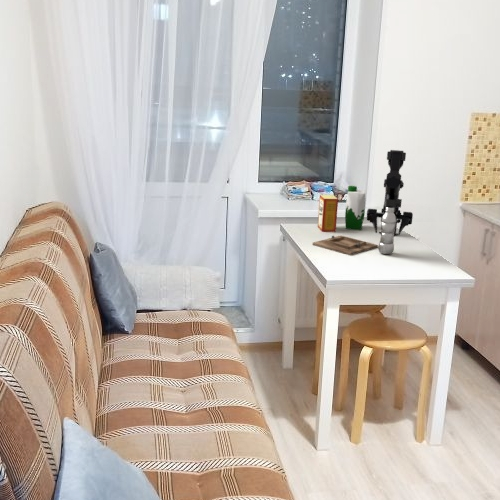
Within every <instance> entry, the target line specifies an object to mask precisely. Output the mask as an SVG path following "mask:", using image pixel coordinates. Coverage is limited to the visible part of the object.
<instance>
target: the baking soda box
mask: <svg viewBox="0 0 500 500" xmlns="http://www.w3.org/2000/svg"><path fill="white" fill-rule="evenodd" d="M318 202H319V203H318V217H317V227H318V229H319V230H320V231H321V232H323V233H325V232H326V233H328V232H329V233H336V232H337V220H338V207H339V206H338V204H339V198H337V196H335V195H334V194H319V200H318Z"/></svg>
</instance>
